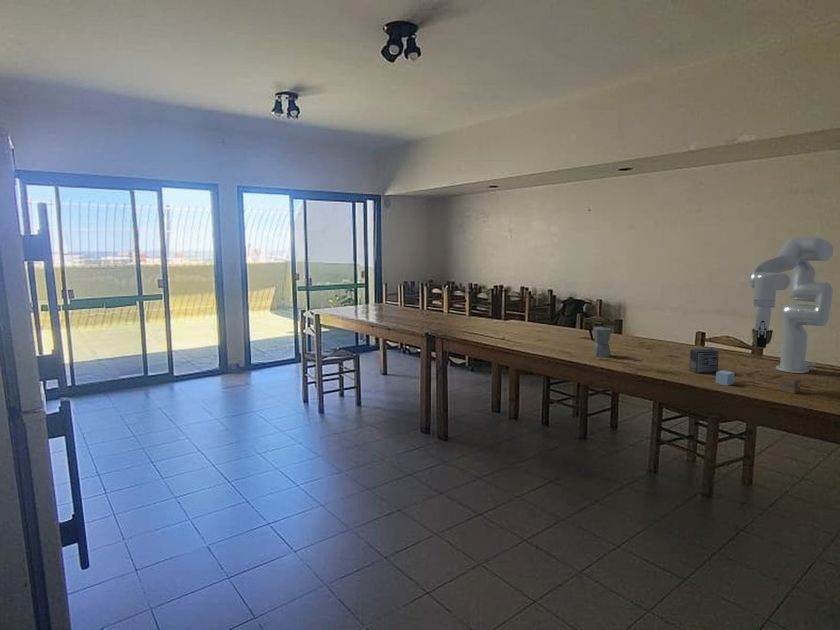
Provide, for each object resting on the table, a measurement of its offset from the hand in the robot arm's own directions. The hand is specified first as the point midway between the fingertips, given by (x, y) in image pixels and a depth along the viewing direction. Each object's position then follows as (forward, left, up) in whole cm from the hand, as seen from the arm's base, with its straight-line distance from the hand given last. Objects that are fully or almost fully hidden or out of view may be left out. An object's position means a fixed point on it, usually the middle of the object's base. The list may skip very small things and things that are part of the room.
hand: (761, 344), depth 215 cm
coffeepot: (+48, -62, -18) cm, 80 cm away
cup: (0, 0, -2) cm, 2 cm away
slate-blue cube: (+12, -3, -18) cm, 22 cm away
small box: (+11, -24, -18) cm, 32 cm away
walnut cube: (-7, +9, -18) cm, 21 cm away
